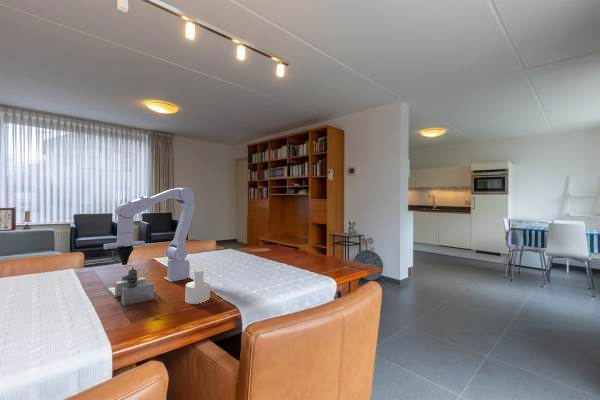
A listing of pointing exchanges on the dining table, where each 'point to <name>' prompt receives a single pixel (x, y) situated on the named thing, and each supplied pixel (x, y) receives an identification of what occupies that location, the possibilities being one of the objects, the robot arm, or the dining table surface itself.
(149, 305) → the dining table surface
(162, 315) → the dining table surface
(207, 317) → the dining table surface
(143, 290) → the plate
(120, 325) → the dining table surface
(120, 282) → the vise jaw
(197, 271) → the cylinder with rectangular tab
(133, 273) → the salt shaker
